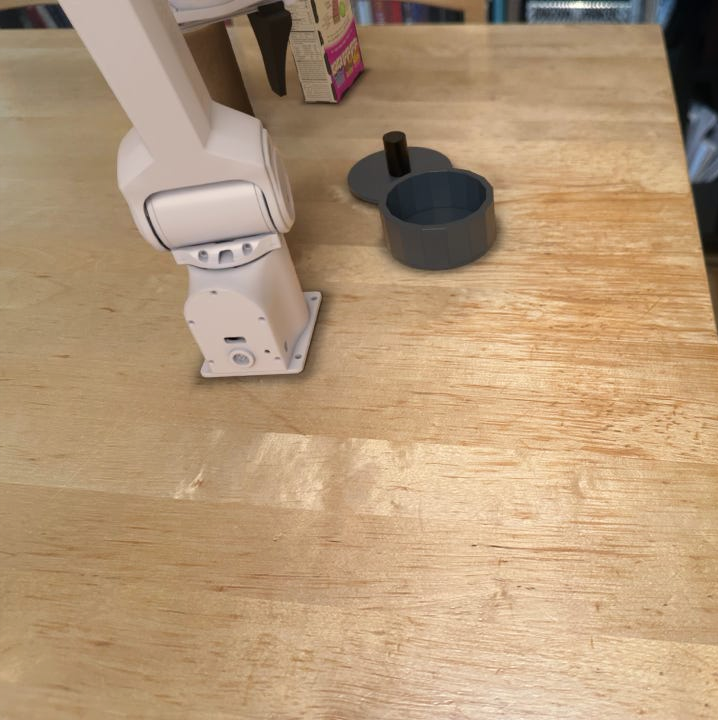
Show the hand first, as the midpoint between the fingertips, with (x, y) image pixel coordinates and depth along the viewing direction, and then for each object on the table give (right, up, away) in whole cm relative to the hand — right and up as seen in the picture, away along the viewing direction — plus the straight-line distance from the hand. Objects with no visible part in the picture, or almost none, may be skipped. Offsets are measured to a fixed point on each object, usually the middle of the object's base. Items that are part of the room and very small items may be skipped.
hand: (241, 105), depth 61 cm
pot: (+19, -12, +1) cm, 22 cm away
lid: (+14, -4, +8) cm, 17 cm away
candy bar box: (+3, +13, +28) cm, 31 cm away
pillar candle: (-9, +3, +18) cm, 21 cm away
